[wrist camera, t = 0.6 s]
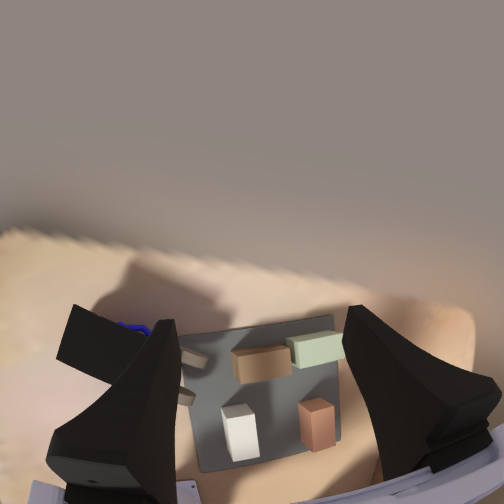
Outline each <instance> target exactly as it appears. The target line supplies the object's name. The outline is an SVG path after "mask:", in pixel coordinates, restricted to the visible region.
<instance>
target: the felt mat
mask: <svg viewBox="0 0 504 504" xmlns="http://www.w3.org/2000/svg"><path fill="white" fill-rule="evenodd" d="M326 330H330V331H334V321H333V315H327V316H322V317H316V318H311V319H305V320H299V321H293V322H286V323H280V324H273V325H267V326H260V327H253V328H246V329H238V330H231V331H223V332H214V333H206V334H197V335H188V336H178V341H179V346H182V347H185V348H188V349H191V350H193V351H196V352H198V353H201V354H203V355H205V356H207V357H208V358H209V359H208V361H207V364H206V367H205V368H204V369H203V368H198V367H194V366H191V365H189V364H186V363H184V362H181V365H182V371H183V378H184V384H185V388H186V389H189V390H190V391H192V392H194V393H195V394H196V397H195V400H194V403H193V405H192V406H188V408H189V414H190V419H191V425H192V430H193V435H194V440H195V445H196V450H197V455H198V460H199V464H200V469H201V473H207V472H214V471H220V470H226V469H232V468H237V467H243V466H248V465H253V464H257V463H262V462H266V461H271V460H275V459H279V458H283V457H287V456H291V455H294V454H298V453H302V452H305V451H308V450H310V449H309V448H308V447H307V446H306V445H305V444H304V443H303V442H302V441H301V434H300V421H299V409H298V403H300V402H304V401H308V400H312V399H316V398H319V397H320V398H322V399H324V400H325V401H327V402H329V403H330V404H332V405H334V413H335V441H336V442H337V441H340V409H339V388H338V371H337V360H336V361H332V362H328V363H324V364H320V365H315V366H311V367H307V368H302V369H299V368H297V367H295V366H293V365H292V364H291V366H292V375H289V376H284V377H279V378H274V379H269V380H263V381H258V382H252V383H246V384H240V383H239V382H238V380H237V379H236V378H235V377H234V375H233V367H232V359H231V351H232V350H239V349H246V348H252V347H259V346H265V345H271V344H277V343H279V344H281V345H283V346H286V341H285V338H289V337H294V336H300V335H305V334H311V333H316V332H321V331H326ZM245 403H246V404H247V405H248V406H249V408H250V409H251V410H252V411H253V413H254V414H255V422H256V430H257V438H258V446H259V453H260V457H256V458H251V459H246V460H241V461H236V462H233V460H232V458H231V455H230V453H229V451H228V449H227V444H226V438H225V432H224V426H223V419H222V413H221V407H227V406H233V405H239V404H245Z"/></svg>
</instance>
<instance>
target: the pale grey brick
mask: <svg viewBox="0 0 504 504" xmlns="http://www.w3.org/2000/svg"><path fill="white" fill-rule="evenodd" d="M221 413H222V419H223V426H224V432H225V438H226V444H227V449H228V451H229V453H230V455H231V458H232V460H233V462H236V461H241V460H246V459H251V458H256V457H260V453H259V446H258V438H257V430H256V422H255V414H254V413H253V411H252V410H251V409H250V408H249V406H248V405H247V404H246V403H245V404H239V405H233V406H227V407H221Z"/></svg>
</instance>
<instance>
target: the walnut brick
mask: <svg viewBox="0 0 504 504" xmlns="http://www.w3.org/2000/svg"><path fill="white" fill-rule="evenodd" d="M231 359H232V367H233V375H234V377H235V378H236V379H237V380H238V382H239V383H240V384H246V383H252V382H258V381H263V380H269V379H274V378H279V377H284V376H289V375H292V366H291V355H290V348H288V347H286V346H283V345H281V344H279V343H277V344H271V345H265V346H259V347H252V348H246V349H239V350H232V351H231Z"/></svg>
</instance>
